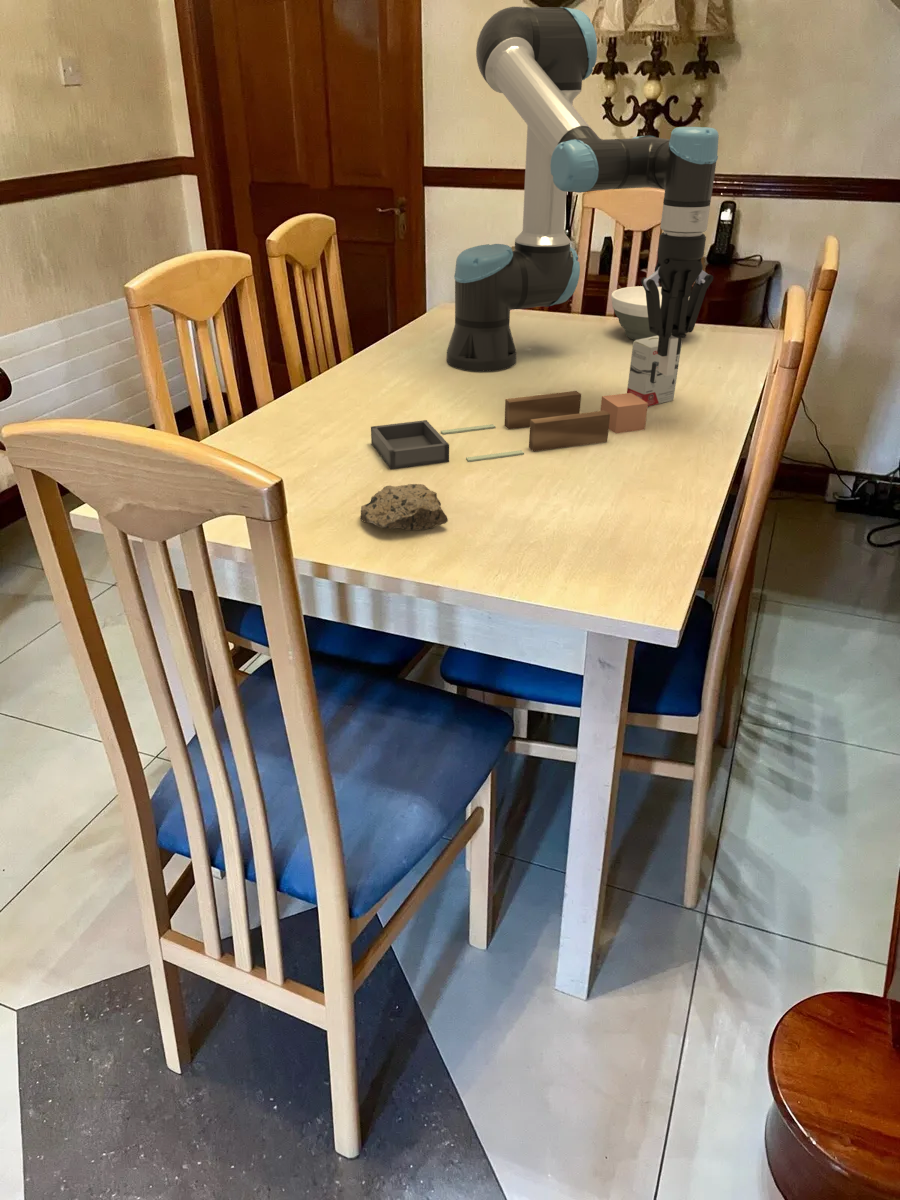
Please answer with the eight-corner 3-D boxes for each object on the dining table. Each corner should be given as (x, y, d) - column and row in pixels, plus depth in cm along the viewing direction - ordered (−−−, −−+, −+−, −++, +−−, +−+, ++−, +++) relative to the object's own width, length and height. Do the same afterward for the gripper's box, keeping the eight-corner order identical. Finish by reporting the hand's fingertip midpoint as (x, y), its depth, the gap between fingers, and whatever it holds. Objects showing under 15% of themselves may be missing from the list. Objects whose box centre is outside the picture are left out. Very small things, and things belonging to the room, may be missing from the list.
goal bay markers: (440, 432, 161) (440, 430, 161) (492, 425, 164) (492, 424, 164) (468, 461, 149) (468, 460, 149) (524, 454, 152) (524, 452, 152)
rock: (356, 508, 135) (355, 481, 133) (433, 501, 137) (433, 474, 135) (368, 541, 126) (367, 512, 123) (450, 533, 128) (450, 504, 126)
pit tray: (371, 443, 156) (370, 426, 155) (426, 436, 159) (426, 420, 158) (390, 469, 147) (390, 452, 145) (449, 461, 149) (449, 444, 148)
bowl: (699, 349, 206) (706, 306, 201) (613, 348, 206) (618, 305, 201) (682, 326, 223) (687, 286, 218) (602, 325, 223) (606, 285, 218)
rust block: (599, 422, 166) (601, 396, 163) (628, 418, 168) (631, 392, 165) (615, 434, 161) (617, 407, 158) (644, 430, 163) (648, 403, 160)
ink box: (642, 408, 172) (650, 346, 166) (624, 401, 176) (631, 340, 169) (674, 400, 176) (683, 339, 170) (656, 393, 180) (664, 333, 173)
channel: (504, 425, 164) (505, 398, 161) (574, 416, 168) (576, 390, 165) (533, 451, 153) (535, 423, 151) (607, 441, 157) (610, 414, 155)
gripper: (660, 238, 145) (644, 383, 157) (730, 233, 148) (709, 375, 160) (637, 231, 151) (623, 371, 163) (704, 227, 155) (686, 364, 167)
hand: (666, 373), depth 162 cm, fingers closed
